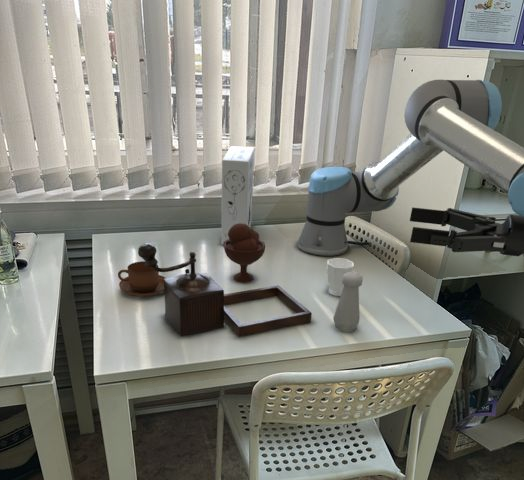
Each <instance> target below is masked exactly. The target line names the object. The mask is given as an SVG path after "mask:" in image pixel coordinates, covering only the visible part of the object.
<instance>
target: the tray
mask: <svg viewBox="0 0 524 480" xmlns="http://www.w3.org/2000/svg"><path fill="white" fill-rule="evenodd" d="M274 297H276V298H277V299H278V300H280V301H281V302H282V304H284V305H285V306H286V307H288V308H289V309H290V310H292V311H293V312H294V313H292V314H287V315H286V314H285V315H282V316H276V317H271V318H266V319H261V320H256V321H251V322H245V323H241V322H240V321H239V320H238V319H237V317H235V316H234V315H233V313H232V312H231V311H230V310H229V309H228V308H227V307H226V306H230V305H235V304H241V303H247V302H252V301H258V300H264V299H269V298H270V299H271V298H274ZM312 314H313V313H312V311H310V310H309V309H308V308H307V307H306V306H304V305H303V304H302V303H301V302H299V301H298V300H297V299H296V298H295V297H293V296H292V295H291V294H290V293H289V292H287V291H286V290H285V289H283V288H282V287H281V286H280V285H272V286H265V287H260V288H254V289H249V290H241V291H236V292H229V293H224V323H226V324H227V326H228V327H229V328H230V329H231V331H232V332H234V334H235V335H236V337H238V338H241V337H246V336H251V335H256V334H260V333H266V332H270V331H276V330H281V329H285V328H290V327H296V326H300V325H305V324H310V323H312V316H313V315H312Z"/></svg>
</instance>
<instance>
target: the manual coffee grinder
mask: <svg viewBox="0 0 524 480" xmlns="http://www.w3.org/2000/svg"><path fill="white" fill-rule="evenodd" d="M157 252H158V251H157V248H156V246H155V245H154V244H153V243H148V242H146V243H142V244H141V245H140V246H139V247H138V249H137V254H138V256H139V257H140V258H141V259H142V260H143V261H145V266H146V267H151V268H152V269H154V270H155V271H157V272H159V273H169V272H173V271H176V270H177V271H178V270H181V269H184V268H186V267H189V266H190V269H189V268H186V269H185V270H184V273H182V274H181V273H180V274H178V275H176V276H174V277H165V278H166V279H164V291H163V293H164V316H165V319H166V321H167V323H168V324H169V325H170V327H171V328H172V329H173V331H174V332H175V333H176V334H177V335H178V336H180V337H190V336H194V335H198V334H204V333H208V332H212V331H216V330H220V329H224V328H225V321H224V294H225V291H224V289H223V288H222V286H221V285H220V284H219V283H218V282H217V281H216V280H215V279H214V278H213V277H212V276H211V275H209V273H207V272H206V271H205V272H200V273H199V272H196V263H197V258H196V255H197V254H196V253H195V252H194V251H190V252H189V259H188V260H187V261H184V262H183V263H179V264H177V265H173V266H169V267H160V266H158V267H157V266H156V265H158V263H159V261H158V260H157V258H156V254H157Z"/></svg>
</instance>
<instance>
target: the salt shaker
mask: <svg viewBox="0 0 524 480" xmlns="http://www.w3.org/2000/svg"><path fill="white" fill-rule="evenodd" d="M342 283H343V285H344V287H343V290H342V293H341V296H339V300H338V303H337V306H336V309H335V311H334V314H333V319H332V320H333V324H334V326H335V328H336V329H337V330H338V331H340V332H344V333H350V332H353V331H355V330H356V328H357V327H358V326H359V324H360V320H361V319H360V318H361V316H360V291H359V290H360V287H361V286H362V284H363V275H361V273H359V272H355V271H353V272H347V273H345V274H344V275H343V278H342Z"/></svg>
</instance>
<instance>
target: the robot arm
mask: <svg viewBox="0 0 524 480" xmlns="http://www.w3.org/2000/svg"><path fill="white" fill-rule="evenodd" d="M502 107H503V103H502V96H501V93H500V89H499V88H498V87H497V86H496V85H495V84H494V83H493V82H491V81H486V80H482V79H433V80H428V81H427V82H424V83H422V84H420V86H418V87H416V88H415V89H414V90H413V92H412V93H411V94H410V95H409V98H408V99H407V101H406V104H405V107H404V115H403V116H404V123H405V126H406V128H407V130H408V131H409V133H410V134H409V135H407V136H406V137H405V138H404V139H403V140H401V142H400V143H399V144H398V145H397V146H395V147H394V148H392V150H391V151H390V152H389V153H388V154H386V155H385V156H384V157H383V158H382V159H381V160H377V161H376V160H375V161H372V162H370V163H369V164H367V166H366V167H365V168H364V169H362V170H361V171H352V170H351V169H350V168H348V167H345V166H325V167H321V168H318V169H316V170H314V171H313V172H312V174H311V175H310V178H309V182H308V184H309V185H308V194H307V207H306V219H305V223H304V225H303V228H302V230H301V233H300V235H299V237H298V241H297V242H298V243H297V247H298V249H300V250H301V251H302V252H304V253H307V254H311V255H315V256H321V257H334V256H335V257H336V256H340V255H343V254H345V253H346V252H347V251H348V246H349V245H354V246H362V247H363V246H369V245H370V241H365V242H362V241H361V242H360V241H355V240H348V236H347V231H346V226H345V225H346V216H347V214H353V213H365V212H380V211H384V210H387V209H389V208H391V207H392V206H393V205H394V203H395V202H396V201H397V196H399V192H400V185H402V184H403V183H405V181H406V180H408V179H409V178H411V177H412V176H413V175H415V174H416V173H417V172H418V171H419V170H421V169H422V168H423V167H425V166H426V165H427V164H428V163H430V162H431V161H432V160H433V159H435V158H436V157H437V156H438V155H439V154H441V153H442V152H443V151H444V152H445V153H446V154H448V155H449V156H451V157H452V158H455V160H457V161H458V162H460V163H461V164H463V165H464V166H466V167H467V168H468V169H470V170H471V171H473V172H474V173H476V174H477V175H479V176H480V177H482V178H483V179H484V180H486V181H487V182H489V183H490V184H492V185H493V186H495V187H496V188H498V189H499V190H500V191H502V192H503V193H505V194H506V195H507V196H508V197H507V199H508V204H509V205H510V206H511V210H512V211H513V213H515V214H509V215H508V216H506V218H505V219H504V222H503V223H499V222H496V220H497V218H496V217H495V216H487V215H481V214H477V213H472V212H469V211H465V210H460V209H455V208H452V207H448V208H447V209H446V210H441V209H431V208H430V209H429V208H421V207H414V206H413V207H411V211H410V217H409V222H413V223H421V224H430V225H440V226H441V227H442V228H443V227H446V226H447V225H448V226H451V227H454V228H456V229H460V230H463V231H459V232H458V231H457V230H454V229H451V230H444V229H435V228H426V227H417V226H413V227H412V229H411V234H410V240H409V243H413V244H422V245H430V246H437V247H438V246H439V247H447V248H448V249H451V252H452V253H469V252H470V253H472V252H499V253H500V255H503V256H509V257H510V256H511V257H521V256H523V257H524V147H523V146H521V145H520V144H519V143H517V142H515V141H513V140H512V139H510V138H508V137H506V136H505V135H503V134H501V133H499V132H498V131H495V128H496V127H497V125H498V123H499V122H500V121H499V120H500V119H501V118H500V117H501V113H502Z"/></svg>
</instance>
